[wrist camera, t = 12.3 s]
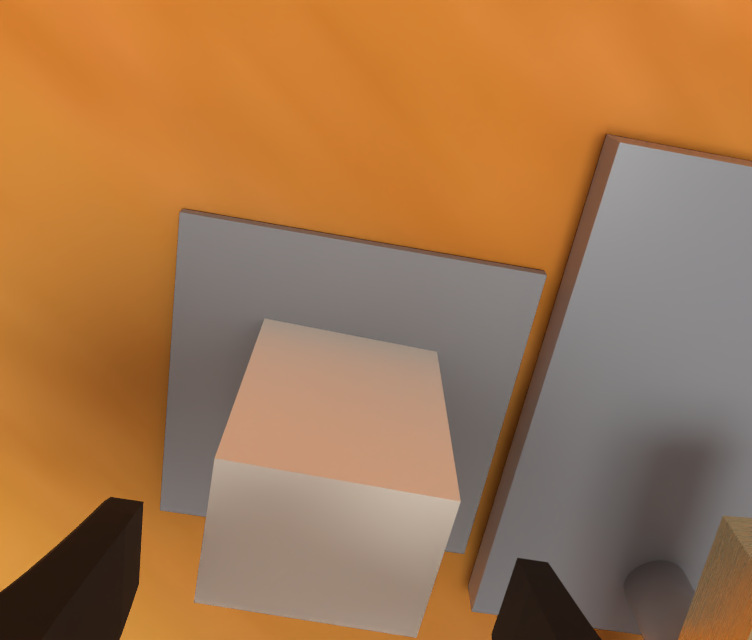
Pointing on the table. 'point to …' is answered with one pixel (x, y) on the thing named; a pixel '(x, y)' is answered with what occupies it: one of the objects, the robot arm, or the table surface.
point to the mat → (343, 315)
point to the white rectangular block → (331, 483)
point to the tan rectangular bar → (724, 587)
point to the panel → (636, 396)
